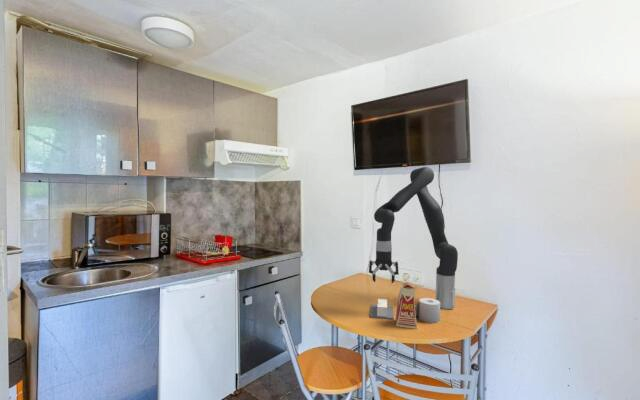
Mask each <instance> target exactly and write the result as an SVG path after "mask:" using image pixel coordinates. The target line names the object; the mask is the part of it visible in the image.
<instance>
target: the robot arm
mask: <svg viewBox="0 0 640 400" xmlns="http://www.w3.org/2000/svg"><path fill="white" fill-rule="evenodd" d="M409 177H410V178H409V179H410V183H409V184H408V185H406V186H405V187H403V188H402V189H400V190H398V192H397V193H395V194H394V195H393V196H392V197H391V199H389V201H387V202H385V203H384V204H382V205H381V206H379V207H378V208H377V209H376V210H375V212H374V213H373V214H374V215H373V219H374V220H375V221H376V222H377V223H379V224H381V226H380V228H377V230H376V243H375V260H371V259H370V260H369V265H368V273H369V274H371V276H372V281H373V283H376V277H377V275H376V273H377V272H379V271H389V273H390V275H391V284H394V283H395V276H397V275H399V262H398V261H392V258H393V257H392V254H393V253H392V250H393V248H392V246H393V245H392V231H393V228H394V224H395V219H396V217H395V213H398V212H400V211H401V210H402V209H403V207H405V205H407V203H408V202H409V201H410V200H411V199H413V197H414V196H416V197H417V199H418V201H419V204H420V208H421V209H422V214H423V217H424V220H425V223H426V226H427V229H428V232H429V234H430V236H431V237H430V238H431V240H432V246H433V250H434V253H435V255H436V257H437V259H439V265H438V267H436V271H435V272H436V276H435V298H434V299H436V300H438V301H439V302H440V309H444V310H454V309H455V306H456V287H455V286H456V285H455V282H456V272H457V267H458V258H459V257H458V255H459V254H458V253H459V252H458V249H457V247H455V246H454V245H453V244H449V242H448V239H447V237H446V234H445V217H444V213H443V211H442V208H441V206H440V204H439V203H438V201H437V200H436V199H435V197H433V196H432V194H431V193H430V192H429V189H428V185H430V184H431V183H432V182H433V181H434V178H435V173H434V170H433V169H432V168H431V167H428V166H423V167H418V168H415V169H413V170H412V171H411V172H410V175H409ZM374 265H375V266H376V267H375V268H374V269H372V268H373V266H374ZM392 266H393V267H395V271H394V270H393V268H392Z"/></svg>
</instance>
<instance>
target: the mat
mask: <svg viewBox="0 0 640 400" xmlns="http://www.w3.org/2000/svg"><path fill="white" fill-rule="evenodd" d="M377 306H378V304H371V308H370V313H369V318H373V319H374V318H375V319H380V320H381V319H383V320H391V321H392V320H393V321H394V319H395V318H394V315H395V314H394V306H389V305H387V317H382V316H377Z"/></svg>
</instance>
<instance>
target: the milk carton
mask: <svg viewBox="0 0 640 400" xmlns="http://www.w3.org/2000/svg"><path fill="white" fill-rule="evenodd" d="M404 282H405V283H403V285H401V286H400V288H399V294H398V298H397V304H396V310H395V311H396V313H395V321H396V327H401V328H408V329H417V330H418V322H417V321H418V320H417V316H416V313H415V306H416V303H415V302H416V301H415V299H416V297H415V296H416V294H415V293H416V292H415V291H416V289H415V287H413V286H411V285H410V284H409V283H410V282H409V281H407V280H405V281H404Z"/></svg>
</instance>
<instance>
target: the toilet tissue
mask: <svg viewBox="0 0 640 400" xmlns="http://www.w3.org/2000/svg"><path fill="white" fill-rule="evenodd" d="M418 301H419V302H417V304H415V313H416V317H418V319H419V320H420V321H422V322H424V323H428V324H437V323H439V322H440V321H441V308H440V302H439V301H438V300H436V299H435V298H431V297H430V298H429V297H422V298H420V299H419V300H418Z"/></svg>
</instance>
